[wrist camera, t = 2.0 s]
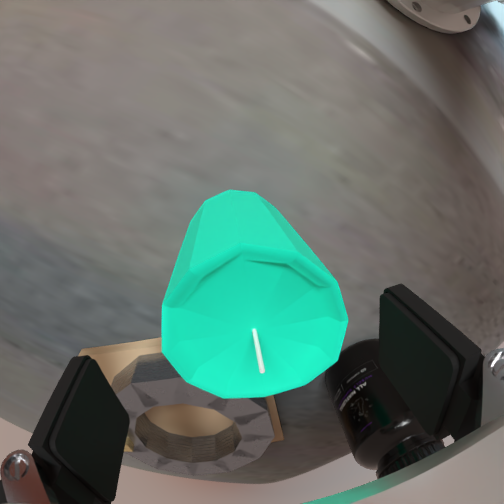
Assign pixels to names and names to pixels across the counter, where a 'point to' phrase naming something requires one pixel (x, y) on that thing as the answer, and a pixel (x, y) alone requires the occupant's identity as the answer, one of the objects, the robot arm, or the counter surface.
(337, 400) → the supplement bottle
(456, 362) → the robot arm
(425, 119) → the counter surface
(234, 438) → the steel collar
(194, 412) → the oak board
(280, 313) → the candle
